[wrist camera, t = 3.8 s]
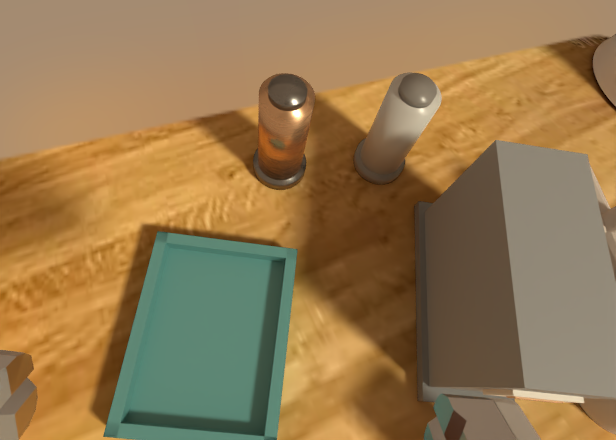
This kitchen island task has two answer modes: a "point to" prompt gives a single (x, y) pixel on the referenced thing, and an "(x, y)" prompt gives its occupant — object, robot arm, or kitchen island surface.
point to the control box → (516, 282)
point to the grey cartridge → (397, 127)
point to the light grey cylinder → (601, 412)
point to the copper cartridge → (283, 130)
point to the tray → (206, 343)
